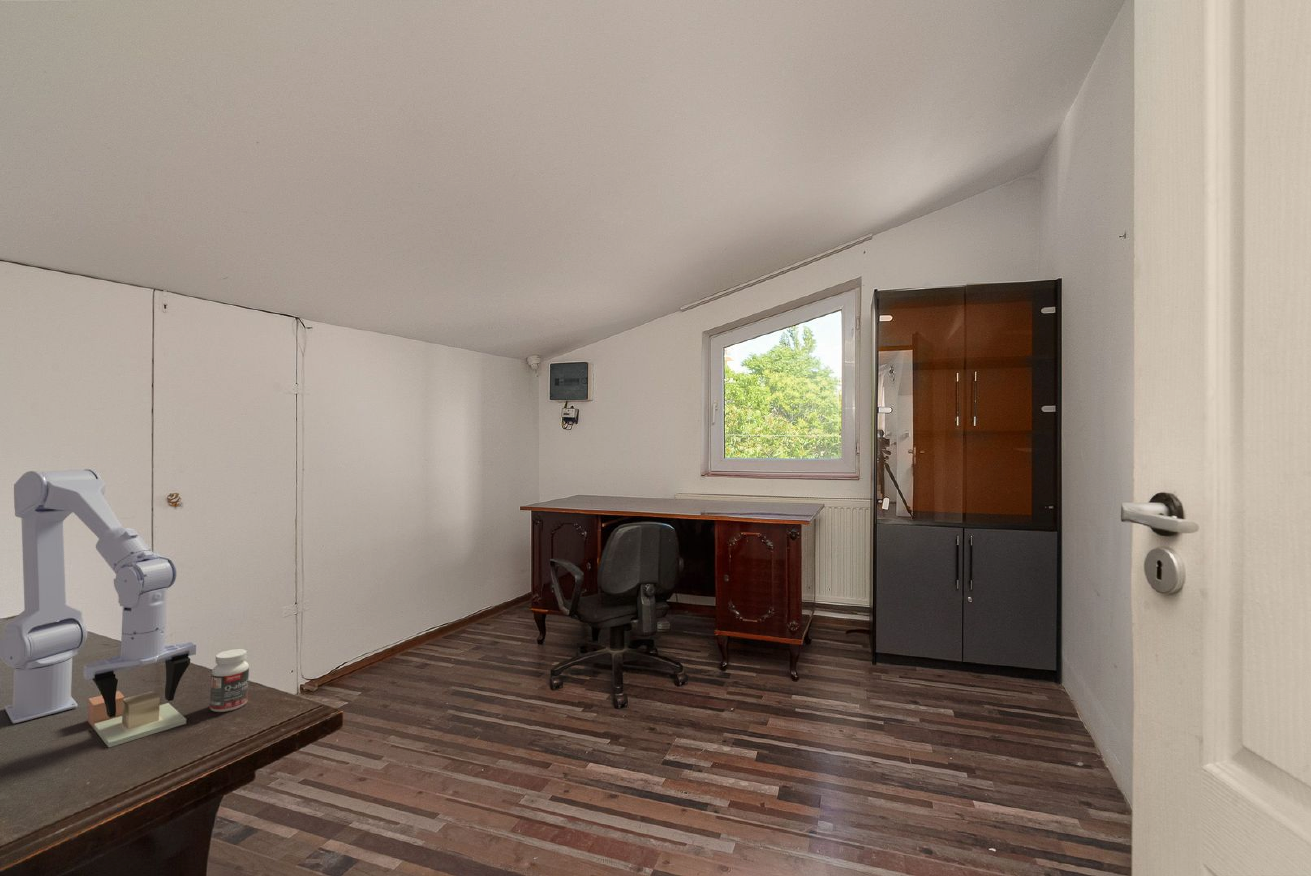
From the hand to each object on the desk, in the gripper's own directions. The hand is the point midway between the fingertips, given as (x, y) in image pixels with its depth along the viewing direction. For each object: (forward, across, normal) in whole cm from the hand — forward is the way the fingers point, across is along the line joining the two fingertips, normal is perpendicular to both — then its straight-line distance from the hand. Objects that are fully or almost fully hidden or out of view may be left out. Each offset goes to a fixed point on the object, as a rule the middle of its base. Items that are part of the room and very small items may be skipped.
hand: (141, 706), depth 98 cm
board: (+3, 0, 0) cm, 3 cm away
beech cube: (+2, 0, 0) cm, 2 cm away
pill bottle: (+3, +12, -3) cm, 13 cm away
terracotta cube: (+3, -3, +8) cm, 9 cm away
